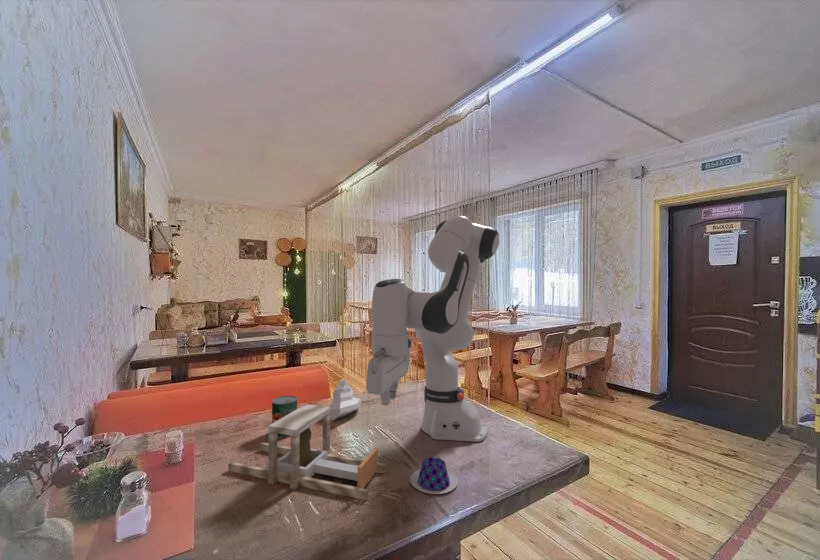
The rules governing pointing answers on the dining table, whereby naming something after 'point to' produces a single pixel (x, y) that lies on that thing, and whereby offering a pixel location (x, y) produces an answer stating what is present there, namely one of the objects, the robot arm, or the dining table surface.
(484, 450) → the dining table surface
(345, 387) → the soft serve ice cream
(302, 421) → the tunnel track
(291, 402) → the canned tomato
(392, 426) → the dining table surface
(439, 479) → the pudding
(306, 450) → the olive rounded cylinder
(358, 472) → the sled fence
